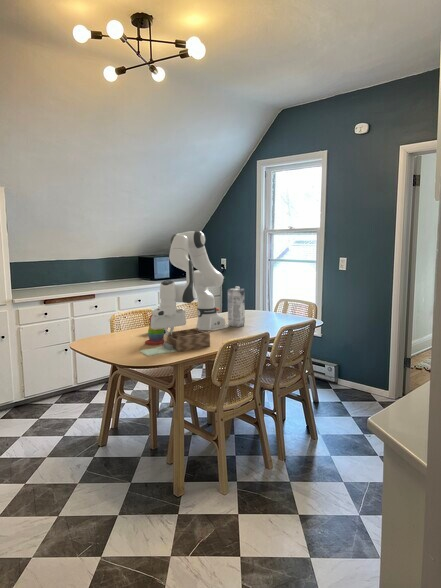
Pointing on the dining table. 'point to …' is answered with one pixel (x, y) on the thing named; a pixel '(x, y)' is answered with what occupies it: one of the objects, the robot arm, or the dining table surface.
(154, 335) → the stacking bear
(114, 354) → the dining table surface
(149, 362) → the dining table surface
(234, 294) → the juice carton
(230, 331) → the dining table surface
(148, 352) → the cover plate
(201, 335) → the walnut box
